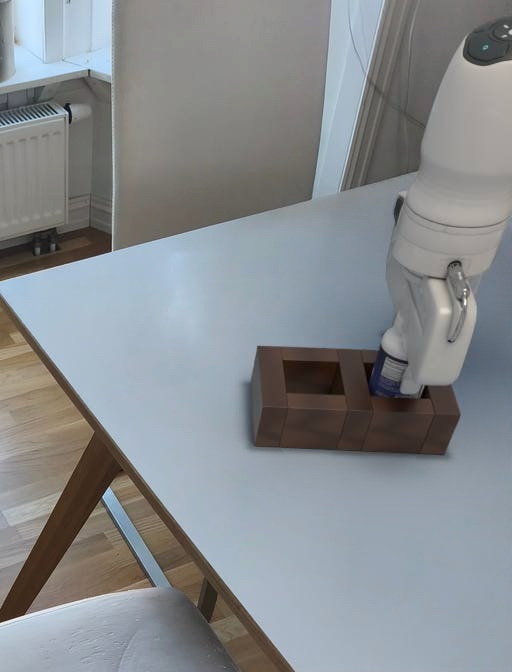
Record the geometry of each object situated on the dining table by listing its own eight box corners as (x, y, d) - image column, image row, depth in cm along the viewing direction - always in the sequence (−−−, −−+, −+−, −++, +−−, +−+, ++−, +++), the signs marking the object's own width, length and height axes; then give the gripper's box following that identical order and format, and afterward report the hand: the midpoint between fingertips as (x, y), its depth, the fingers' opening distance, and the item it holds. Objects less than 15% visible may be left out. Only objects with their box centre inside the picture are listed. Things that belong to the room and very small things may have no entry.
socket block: (426, 391, 97) (441, 351, 94) (444, 454, 91) (461, 414, 87) (249, 384, 99) (257, 345, 95) (254, 446, 92) (262, 406, 89)
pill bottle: (376, 378, 95) (402, 294, 87) (425, 394, 93) (456, 309, 85) (356, 404, 92) (382, 320, 85) (406, 421, 90) (437, 336, 83)
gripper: (510, 299, 72) (453, 435, 83) (461, 186, 85) (417, 316, 96) (430, 297, 73) (384, 432, 84) (394, 185, 85) (358, 315, 96)
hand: (402, 369), depth 90 cm, fingers closed on pill bottle, 5 cm apart
